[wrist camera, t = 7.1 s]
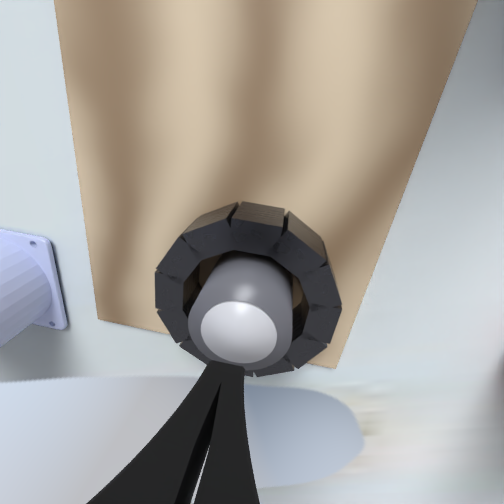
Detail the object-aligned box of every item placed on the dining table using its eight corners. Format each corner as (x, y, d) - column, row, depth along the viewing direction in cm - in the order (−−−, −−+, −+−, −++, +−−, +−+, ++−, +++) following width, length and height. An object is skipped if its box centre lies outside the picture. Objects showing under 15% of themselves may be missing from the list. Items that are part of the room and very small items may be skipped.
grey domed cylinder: (212, 303, 19) (186, 363, 14) (216, 236, 17) (186, 281, 12) (285, 316, 19) (283, 381, 14) (299, 248, 16) (301, 300, 12)
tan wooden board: (102, 314, 22) (98, 319, 21) (42, -164, 11) (29, -179, 10) (334, 362, 20) (335, 368, 20) (516, -119, 10) (529, -133, 9)
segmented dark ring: (174, 324, 20) (156, 356, 18) (176, 189, 16) (153, 203, 13) (311, 353, 20) (313, 390, 17) (353, 220, 15) (366, 242, 13)
